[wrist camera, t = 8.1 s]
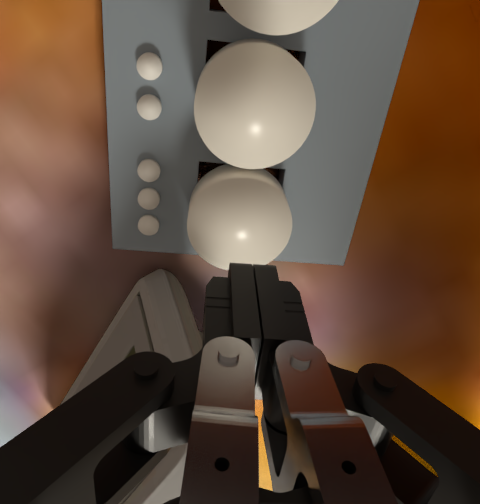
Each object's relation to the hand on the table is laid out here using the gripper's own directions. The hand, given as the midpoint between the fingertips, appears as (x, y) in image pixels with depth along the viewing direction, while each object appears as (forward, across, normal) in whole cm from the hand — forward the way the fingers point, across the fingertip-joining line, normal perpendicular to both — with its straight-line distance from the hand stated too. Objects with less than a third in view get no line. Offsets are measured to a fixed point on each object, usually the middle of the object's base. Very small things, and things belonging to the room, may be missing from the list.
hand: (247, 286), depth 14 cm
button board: (+9, 0, -4) cm, 10 cm away
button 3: (+8, 0, +1) cm, 9 cm away
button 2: (+9, 0, -4) cm, 10 cm away
